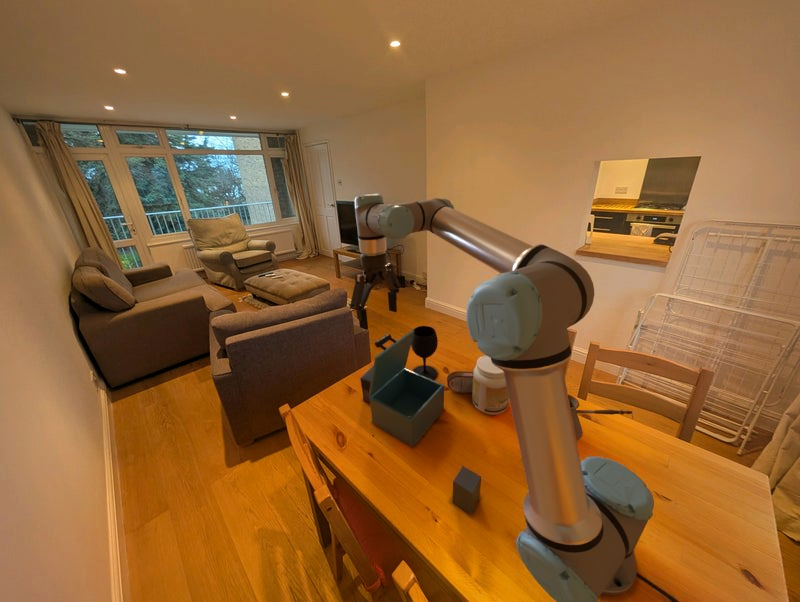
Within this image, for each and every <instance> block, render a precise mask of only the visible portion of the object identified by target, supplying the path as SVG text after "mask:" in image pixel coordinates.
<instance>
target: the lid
mask: <svg viewBox="0 0 800 602" xmlns="http://www.w3.org/2000/svg"><path fill="white" fill-rule="evenodd" d="M413 335H414V329H412V330H410V331H409V332H407V333H406V334H405V335H404V336H402V337H400V338H399V339H397V340H396V339H394V337H392V335H391V333H387V334H385V335H384V336H382V337H381V338H380V339H378V340H377V341H375V342H374V346H375V347H376V348H380V349H382V351H381V352H380V353H378V354H377V355H376V356H375V357H374V361H373V365H374V367H373V373H372V378H371V384H370V390H369V397H371V396H372V395H373V394H375V393H376V392H377V391H378V390H379V389H380V388H382V387H383V386H384V385H385V384H386V383H387V382H389V381H390V380H391V379H392V378H393V377H395V376H396V375H397V374H398V373H399V372H400V371H402V370H403V369H404V368H406V366H407V362H408V358H409V354H410V350H411V348H412V347H411V343H412V339H413ZM389 341H390V342H392V344H391V345H390V346H388V347H385V346H384V345H385V344H386V343H388V342H389Z"/></svg>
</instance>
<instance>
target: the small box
mask: <svg viewBox="0 0 800 602" xmlns="http://www.w3.org/2000/svg"><path fill="white" fill-rule="evenodd" d="M373 367H374V364H373V365H372V366H370V368H369V369H367V371H366V372H365V373H364V374H363V375H361V377H360V378H359V380H360V386H361V391H362V399H363V401H364V402H366V403H369V404H370V397H369V390H370V384H371V378H372V373H373Z"/></svg>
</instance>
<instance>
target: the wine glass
mask: <svg viewBox="0 0 800 602" xmlns="http://www.w3.org/2000/svg"><path fill="white" fill-rule="evenodd" d="M413 330H414V335H413V339H412V343H411V347H410V348H411V350H412V352H413V353H414V354H415V355H416V356H417V357H419V358H421V359H422V365H418V366H415V368H414V369H412V371H413V372H415V373H417V374H420V375H422V376H424V377H427V378H429V379H431V380H434V381H435V380H436V379H437V377H438V371H437V369H436V368H435V367H433V366H432V365H431V366H430V365H427V363H426V362H427V359H428V358H429V357H431V356H433V355H434V354H435V353H436V352H437V349H438V343H439V342H438V341H439V340H438V335H437V332H436V329H435V328H433V327H432V326H428V325H420V326H416V327H414V328H413Z"/></svg>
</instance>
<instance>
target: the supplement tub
mask: <svg viewBox="0 0 800 602" xmlns="http://www.w3.org/2000/svg"><path fill="white" fill-rule="evenodd" d="M472 372H473V389H472V393H471V401H472V403H473V406H474V407H475V408H476V409H477V411H480V412H481V413H484V414H486V415H492V416H494V415H495V416H496V415H500V414H503V413H504V412H506V411H507V409H508V406H509V402H510V400H509V395H508V390H507V386H506V381H505V376H504V371H503V370H501V369H500V368H498V367H496V366H495V365H494V364H493V363H492V361H491V358H490V357H488V356H487V355H485V354H484V355H482V356H480V357H478V359H477V360H476V364H475V366H474V368H473V371H472Z"/></svg>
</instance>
